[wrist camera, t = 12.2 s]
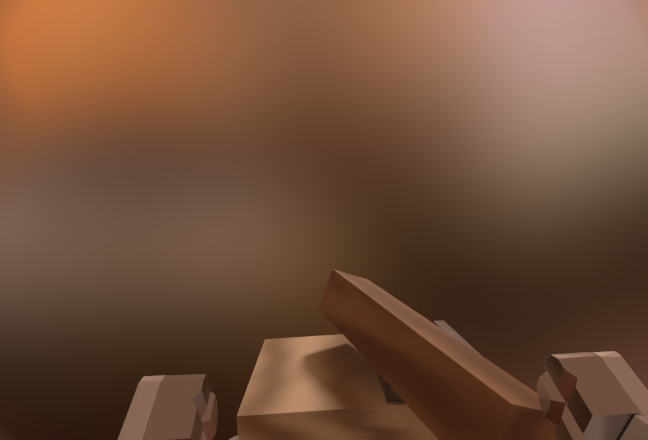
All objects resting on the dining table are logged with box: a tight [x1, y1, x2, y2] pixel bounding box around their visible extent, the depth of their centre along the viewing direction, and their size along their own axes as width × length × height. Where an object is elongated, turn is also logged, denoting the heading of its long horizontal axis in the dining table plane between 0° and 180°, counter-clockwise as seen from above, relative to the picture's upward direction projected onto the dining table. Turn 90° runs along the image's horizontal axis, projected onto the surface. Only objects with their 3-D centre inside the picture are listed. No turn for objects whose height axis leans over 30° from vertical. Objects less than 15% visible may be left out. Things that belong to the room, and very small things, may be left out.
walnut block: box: [319, 269, 557, 440], centre depth 32 cm, size 4×24×4 cm, turn 20°
